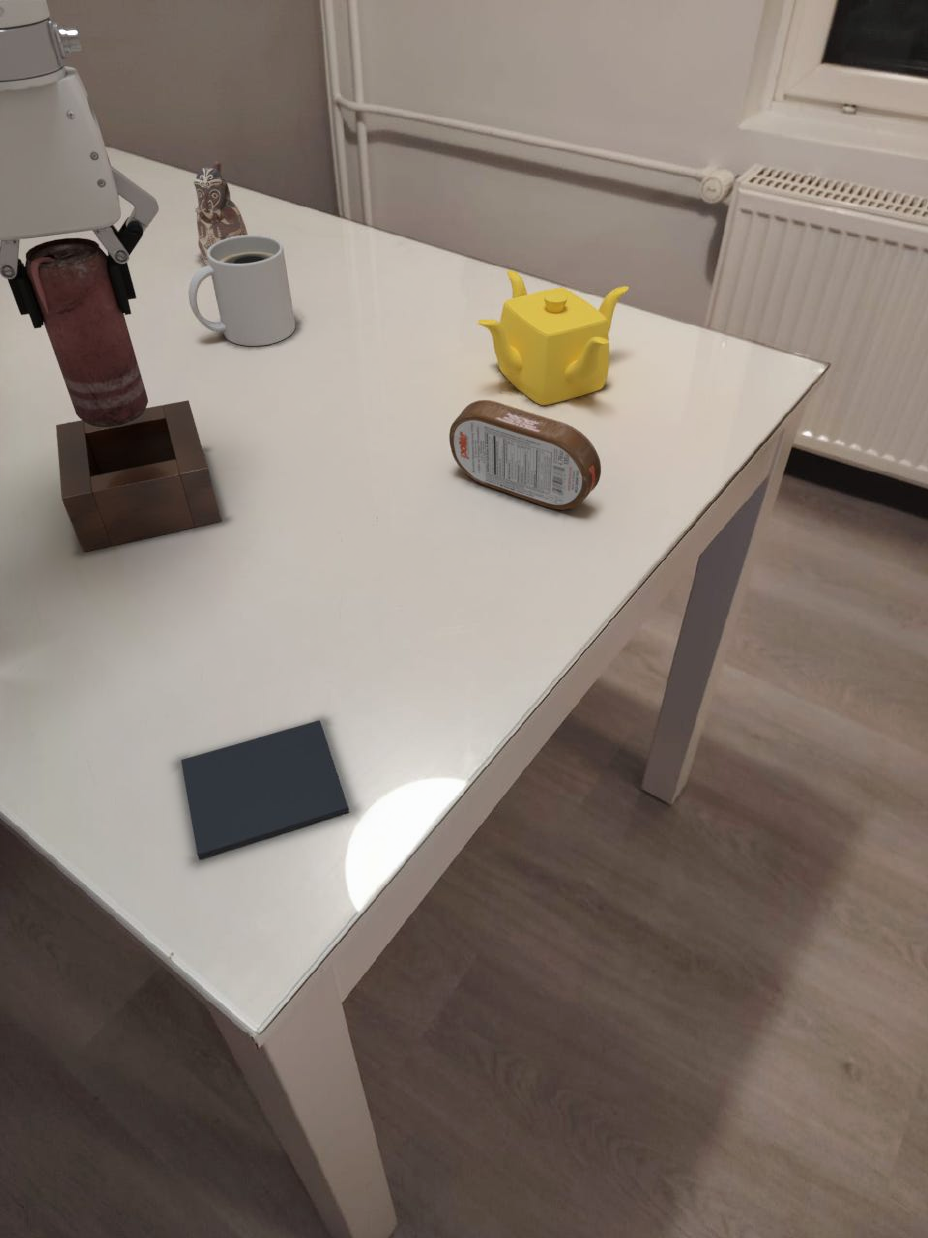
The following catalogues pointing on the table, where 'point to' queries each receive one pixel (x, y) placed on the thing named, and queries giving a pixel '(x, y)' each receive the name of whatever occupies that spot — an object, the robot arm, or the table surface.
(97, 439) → the holder
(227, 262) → the mug
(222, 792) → the mat
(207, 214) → the figurine
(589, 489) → the tin
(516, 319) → the teapot
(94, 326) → the can
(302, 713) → the table surface
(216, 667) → the table surface
